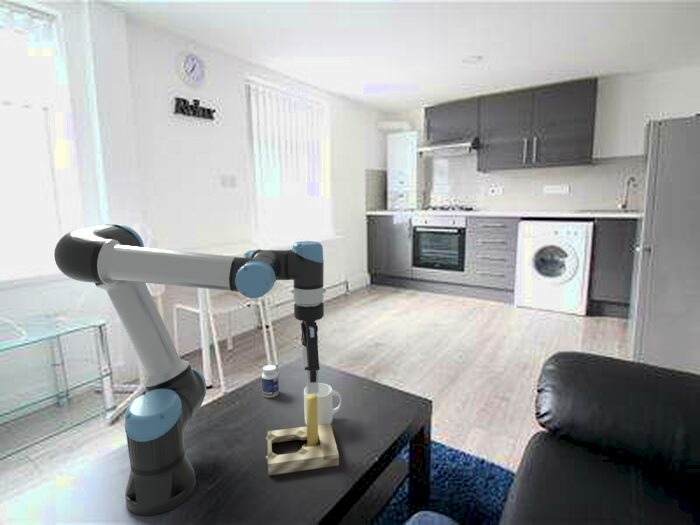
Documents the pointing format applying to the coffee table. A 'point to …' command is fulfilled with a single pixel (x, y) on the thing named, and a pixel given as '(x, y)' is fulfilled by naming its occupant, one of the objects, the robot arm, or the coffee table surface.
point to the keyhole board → (302, 451)
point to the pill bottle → (270, 381)
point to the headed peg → (312, 421)
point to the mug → (323, 403)
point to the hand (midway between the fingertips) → (310, 379)
